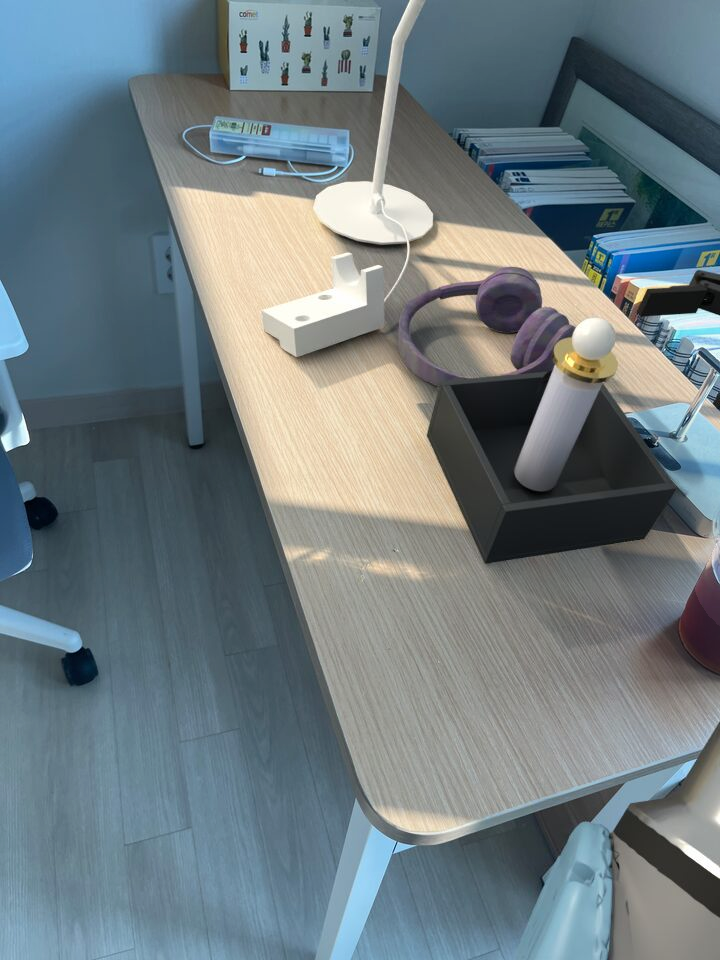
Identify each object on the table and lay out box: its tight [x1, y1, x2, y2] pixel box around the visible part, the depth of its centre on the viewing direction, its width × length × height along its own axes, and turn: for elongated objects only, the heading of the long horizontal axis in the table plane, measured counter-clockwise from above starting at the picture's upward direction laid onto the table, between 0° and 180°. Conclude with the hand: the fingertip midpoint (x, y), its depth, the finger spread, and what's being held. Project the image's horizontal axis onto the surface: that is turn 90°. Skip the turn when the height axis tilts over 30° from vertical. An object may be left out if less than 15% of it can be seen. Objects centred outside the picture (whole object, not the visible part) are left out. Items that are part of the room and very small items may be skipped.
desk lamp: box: [312, 0, 434, 304], centre depth 92 cm, size 37×18×45 cm, turn 14°
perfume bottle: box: [514, 316, 619, 491], centre depth 71 cm, size 6×6×20 cm
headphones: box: [398, 266, 576, 387], centre depth 91 cm, size 18×8×20 cm
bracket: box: [261, 251, 385, 358], centre depth 91 cm, size 13×7×8 cm, turn 127°
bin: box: [426, 372, 678, 565], centre depth 76 cm, size 18×18×8 cm
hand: (680, 346), depth 69 cm, fingers open, 13 cm apart
